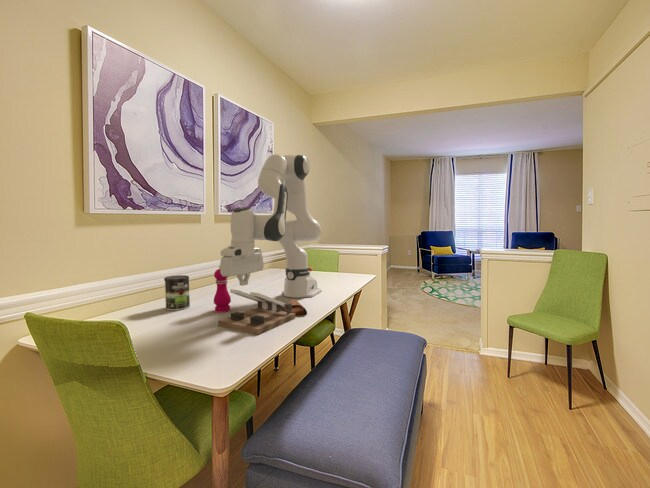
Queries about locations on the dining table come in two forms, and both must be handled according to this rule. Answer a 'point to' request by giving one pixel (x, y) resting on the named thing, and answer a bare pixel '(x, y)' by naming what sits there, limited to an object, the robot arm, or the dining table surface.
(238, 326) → the base
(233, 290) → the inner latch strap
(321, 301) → the dining table surface
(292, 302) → the sunglasses case
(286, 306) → the strap
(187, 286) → the coffee can
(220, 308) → the pepper mill
